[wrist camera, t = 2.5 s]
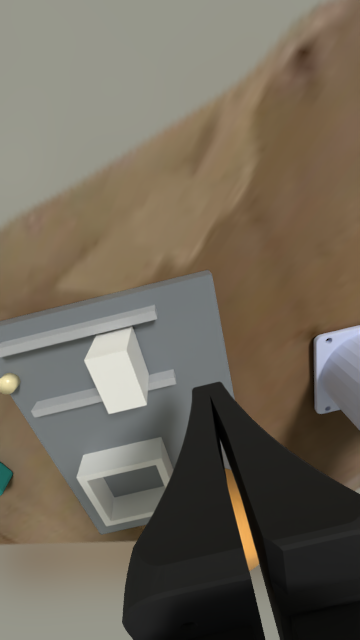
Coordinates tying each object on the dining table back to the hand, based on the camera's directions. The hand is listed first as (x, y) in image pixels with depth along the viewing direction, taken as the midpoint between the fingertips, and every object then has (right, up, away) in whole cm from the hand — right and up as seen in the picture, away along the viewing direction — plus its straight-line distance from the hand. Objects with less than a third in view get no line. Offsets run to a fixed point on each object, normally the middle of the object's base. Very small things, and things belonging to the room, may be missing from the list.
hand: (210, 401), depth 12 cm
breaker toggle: (-5, +1, +6) cm, 8 cm away
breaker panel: (-5, -5, +11) cm, 13 cm away
